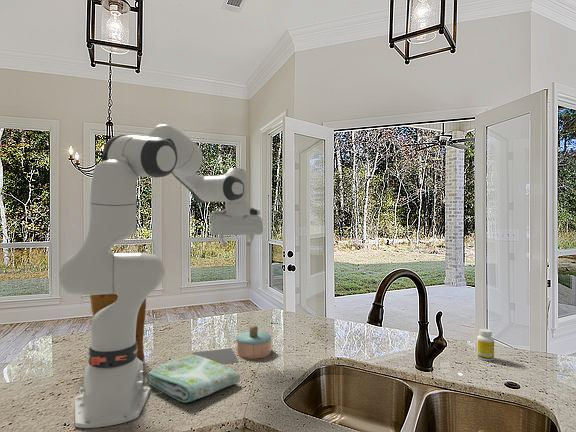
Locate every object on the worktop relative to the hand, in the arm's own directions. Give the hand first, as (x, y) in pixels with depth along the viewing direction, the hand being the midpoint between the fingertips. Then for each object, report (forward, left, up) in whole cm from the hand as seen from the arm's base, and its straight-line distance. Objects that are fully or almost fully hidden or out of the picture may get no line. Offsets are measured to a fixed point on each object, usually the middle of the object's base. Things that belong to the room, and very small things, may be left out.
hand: (236, 246), depth 149 cm
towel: (-33, +19, -37) cm, 53 cm away
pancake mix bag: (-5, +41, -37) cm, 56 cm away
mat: (-14, +10, -37) cm, 41 cm away
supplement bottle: (-42, -80, -37) cm, 98 cm away
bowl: (-13, -4, -37) cm, 40 cm away
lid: (-13, -4, -32) cm, 35 cm away
